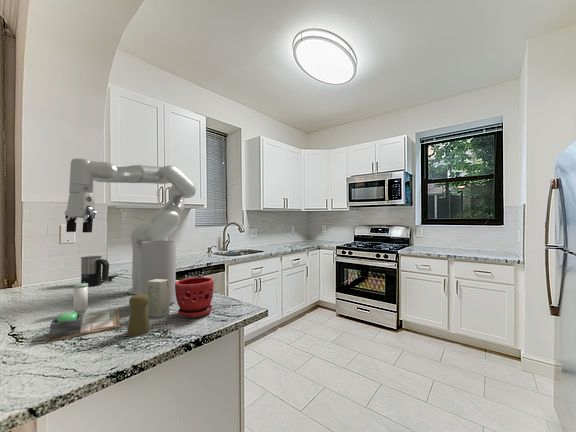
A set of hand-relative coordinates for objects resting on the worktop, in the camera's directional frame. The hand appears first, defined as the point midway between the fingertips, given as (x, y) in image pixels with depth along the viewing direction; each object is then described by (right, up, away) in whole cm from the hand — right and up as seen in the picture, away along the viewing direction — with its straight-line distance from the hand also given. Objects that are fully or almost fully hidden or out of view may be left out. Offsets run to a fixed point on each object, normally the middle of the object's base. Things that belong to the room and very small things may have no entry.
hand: (79, 232), depth 104 cm
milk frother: (-18, -30, +37) cm, 51 cm away
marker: (+9, -29, -10) cm, 32 cm away
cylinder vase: (+32, -29, +1) cm, 43 cm away
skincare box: (+38, -29, -12) cm, 49 cm away
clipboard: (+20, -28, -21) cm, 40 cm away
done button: (+19, -25, -28) cm, 42 cm away
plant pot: (+50, -29, -11) cm, 59 cm away
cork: (+39, -28, -27) cm, 55 cm away
